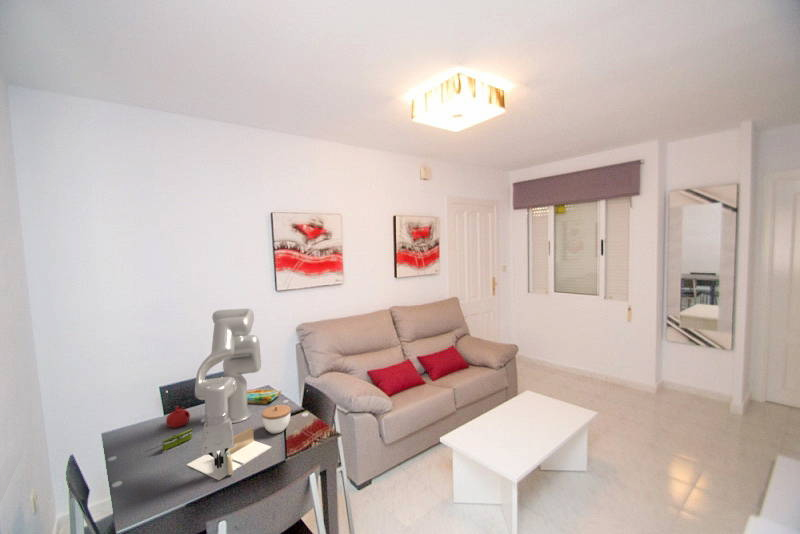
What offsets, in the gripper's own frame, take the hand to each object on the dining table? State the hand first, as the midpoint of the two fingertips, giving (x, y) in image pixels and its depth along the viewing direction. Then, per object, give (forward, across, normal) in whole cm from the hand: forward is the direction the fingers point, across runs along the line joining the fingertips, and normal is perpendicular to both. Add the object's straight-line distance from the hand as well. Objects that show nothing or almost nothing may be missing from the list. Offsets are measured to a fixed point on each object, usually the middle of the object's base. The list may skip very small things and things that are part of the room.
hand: (219, 466), depth 131 cm
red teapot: (+3, -15, +54) cm, 57 cm away
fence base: (+2, +8, +13) cm, 16 cm away
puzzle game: (+3, +24, +64) cm, 68 cm away
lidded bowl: (+3, +25, +23) cm, 34 cm away
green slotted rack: (+3, -18, +32) cm, 36 cm away
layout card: (+3, +5, +10) cm, 12 cm away
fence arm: (+2, +3, +2) cm, 4 cm away
